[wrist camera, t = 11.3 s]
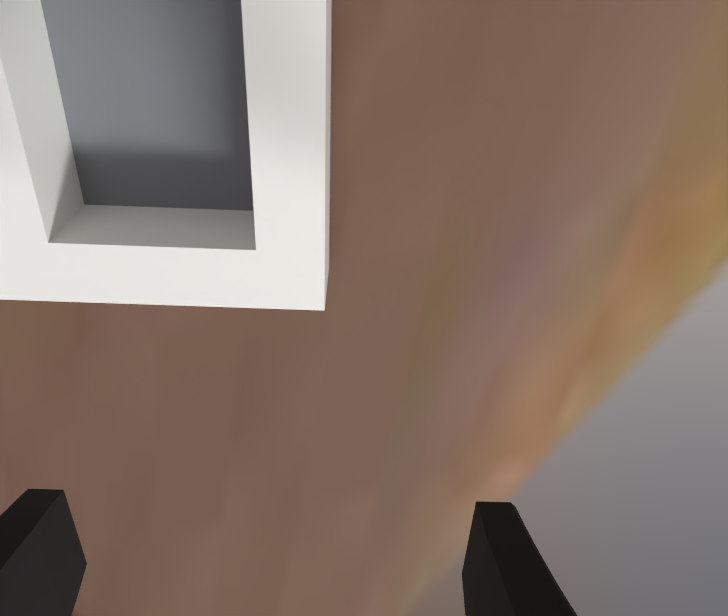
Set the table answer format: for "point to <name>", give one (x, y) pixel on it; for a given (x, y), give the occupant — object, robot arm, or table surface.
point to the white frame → (166, 152)
